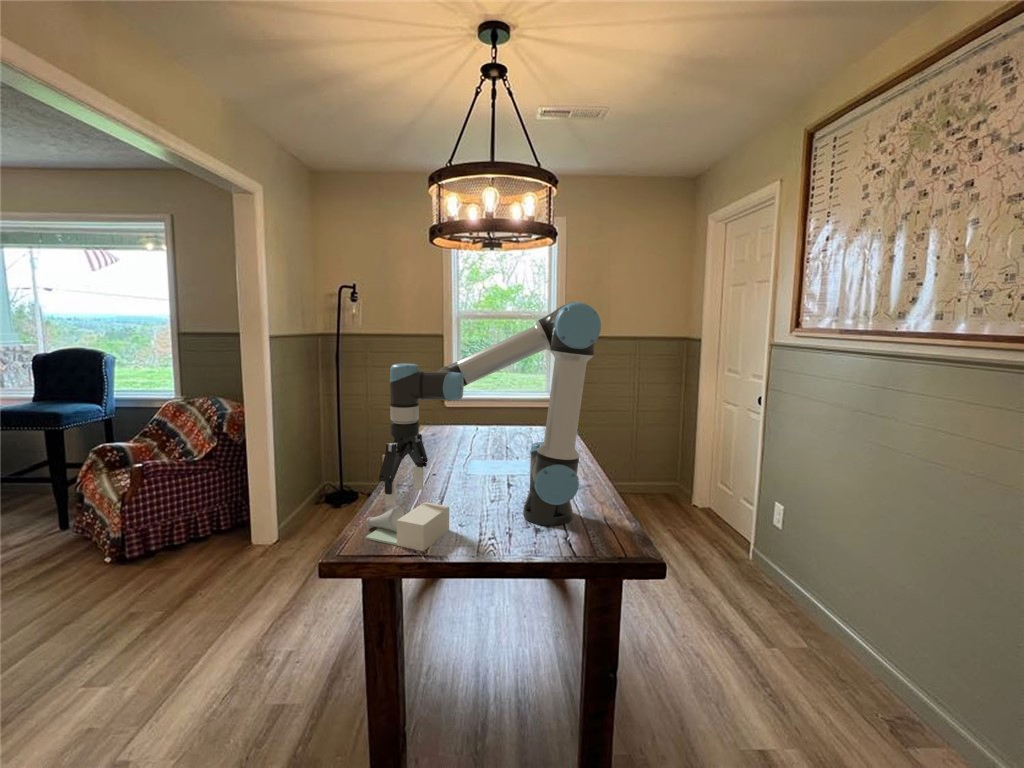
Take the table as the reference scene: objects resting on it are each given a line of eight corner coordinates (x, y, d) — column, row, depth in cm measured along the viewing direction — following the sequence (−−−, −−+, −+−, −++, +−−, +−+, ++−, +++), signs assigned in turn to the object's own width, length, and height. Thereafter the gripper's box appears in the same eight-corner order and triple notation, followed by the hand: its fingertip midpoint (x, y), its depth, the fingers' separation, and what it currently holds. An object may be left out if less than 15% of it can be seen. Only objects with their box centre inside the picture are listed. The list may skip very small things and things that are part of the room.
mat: (424, 525, 140) (424, 523, 140) (397, 545, 127) (396, 543, 127) (395, 519, 144) (395, 517, 144) (365, 538, 131) (365, 536, 131)
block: (449, 529, 137) (449, 506, 137) (423, 551, 124) (423, 525, 124) (424, 525, 140) (424, 502, 139) (397, 545, 127) (396, 520, 126)
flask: (409, 520, 139) (380, 524, 142) (399, 500, 136) (370, 504, 140) (398, 538, 132) (368, 541, 136) (388, 517, 130) (357, 521, 133)
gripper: (417, 412, 143) (417, 481, 146) (363, 428, 120) (365, 510, 123) (439, 414, 141) (439, 484, 143) (389, 431, 117) (389, 515, 120)
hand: (405, 496), depth 133 cm, fingers open, 13 cm apart
